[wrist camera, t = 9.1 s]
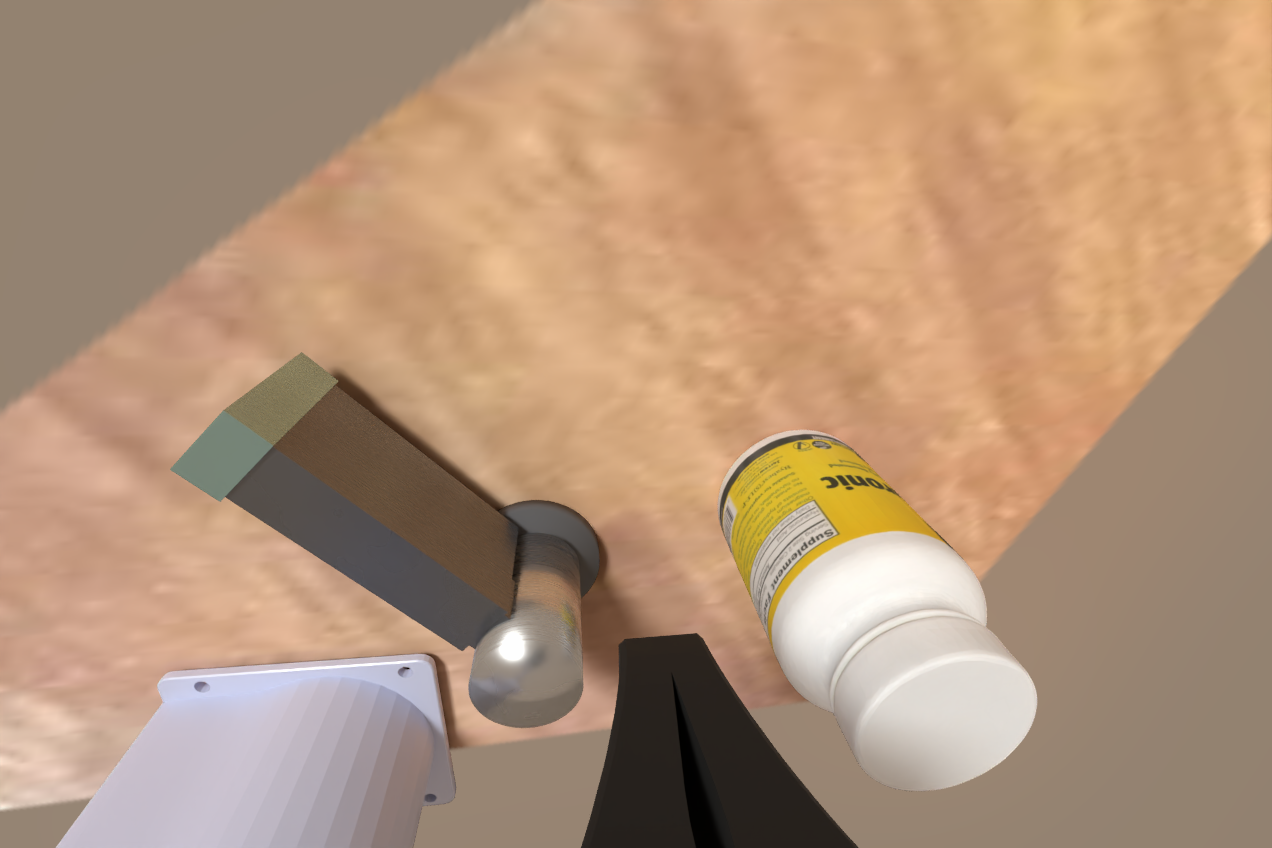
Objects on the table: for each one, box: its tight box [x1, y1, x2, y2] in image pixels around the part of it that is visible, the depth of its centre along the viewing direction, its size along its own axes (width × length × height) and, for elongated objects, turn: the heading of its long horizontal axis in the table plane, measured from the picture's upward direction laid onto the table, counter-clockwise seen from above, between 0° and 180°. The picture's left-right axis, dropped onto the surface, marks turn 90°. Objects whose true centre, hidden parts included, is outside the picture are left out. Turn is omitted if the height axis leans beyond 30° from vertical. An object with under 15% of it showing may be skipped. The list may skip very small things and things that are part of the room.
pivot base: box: [498, 500, 600, 598], centre depth 21 cm, size 4×4×1 cm
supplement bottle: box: [718, 430, 1037, 791], centre depth 17 cm, size 5×5×10 cm
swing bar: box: [170, 352, 583, 728], centre depth 17 cm, size 11×3×5 cm, turn 43°
